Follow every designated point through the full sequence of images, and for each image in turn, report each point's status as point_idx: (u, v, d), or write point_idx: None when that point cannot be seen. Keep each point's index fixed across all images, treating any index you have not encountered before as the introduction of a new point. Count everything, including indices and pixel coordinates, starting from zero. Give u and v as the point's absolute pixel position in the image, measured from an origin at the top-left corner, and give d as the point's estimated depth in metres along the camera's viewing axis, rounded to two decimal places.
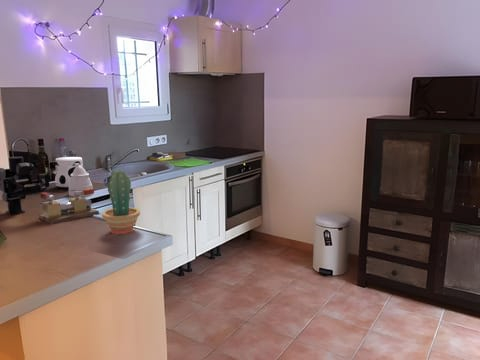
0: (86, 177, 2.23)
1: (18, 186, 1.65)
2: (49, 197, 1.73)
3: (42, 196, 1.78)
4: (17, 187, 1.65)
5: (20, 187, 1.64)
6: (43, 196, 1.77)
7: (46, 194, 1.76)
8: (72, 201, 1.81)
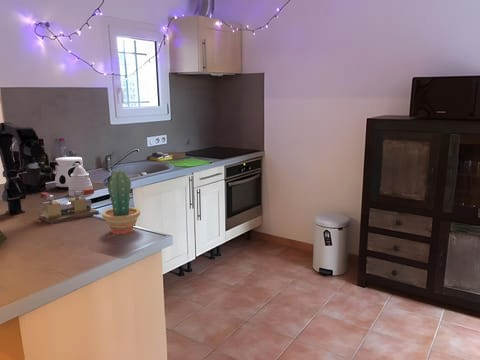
0: (86, 177, 2.23)
1: (18, 187, 1.70)
2: (49, 197, 1.73)
3: (42, 196, 1.78)
4: (17, 186, 1.70)
5: (19, 190, 1.71)
6: (43, 196, 1.77)
7: (46, 194, 1.76)
8: (72, 201, 1.81)
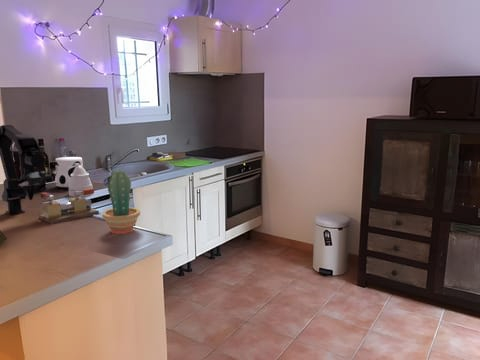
0: (86, 177, 2.23)
1: (28, 195, 1.73)
2: (49, 197, 1.73)
3: (42, 196, 1.78)
4: (27, 194, 1.74)
5: (28, 197, 1.74)
6: (43, 196, 1.77)
7: (46, 194, 1.76)
8: (72, 201, 1.81)
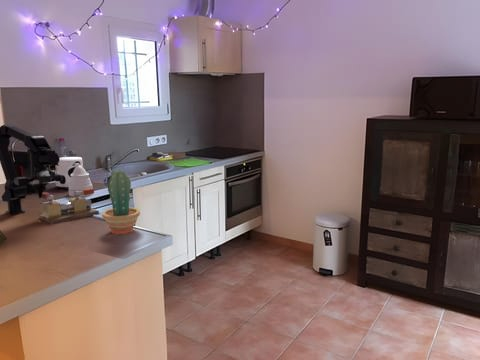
0: (86, 177, 2.23)
1: (38, 193, 1.77)
2: (49, 197, 1.73)
3: (42, 196, 1.78)
4: (37, 192, 1.77)
5: (39, 196, 1.77)
6: (43, 196, 1.77)
7: (46, 194, 1.76)
8: (72, 201, 1.81)
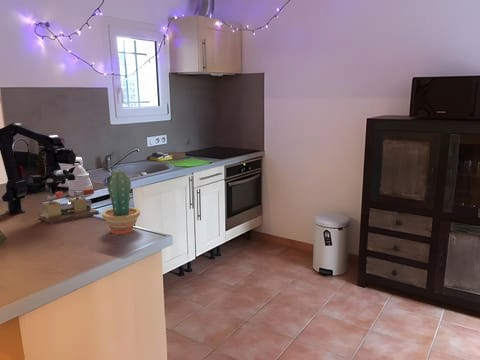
0: (86, 177, 2.23)
1: (51, 192, 1.80)
2: (47, 197, 1.74)
3: None
4: (50, 190, 1.80)
5: None
6: None
7: (53, 193, 1.78)
8: (72, 201, 1.81)
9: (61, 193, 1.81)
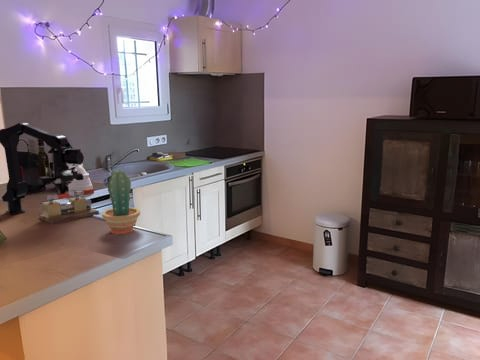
0: (86, 177, 2.23)
1: (60, 192, 1.80)
2: None
3: None
4: (59, 191, 1.80)
5: None
6: None
7: (56, 194, 1.77)
8: (72, 201, 1.81)
9: (66, 194, 1.79)
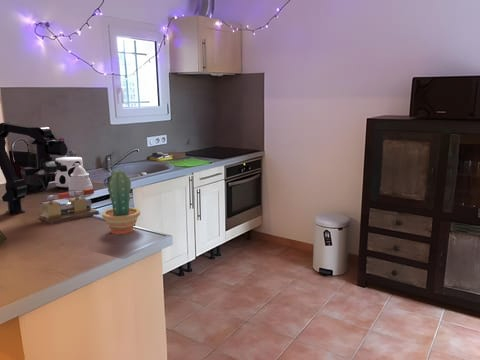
0: (86, 177, 2.23)
1: (43, 183, 1.81)
2: None
3: None
4: (42, 182, 1.81)
5: (44, 186, 1.81)
6: None
7: (56, 194, 1.77)
8: (72, 201, 1.81)
9: (66, 194, 1.79)
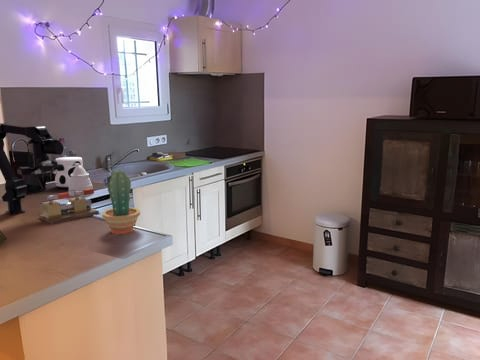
0: (86, 177, 2.23)
1: (40, 183, 1.80)
2: None
3: None
4: (39, 181, 1.80)
5: (41, 185, 1.81)
6: None
7: (56, 194, 1.77)
8: (72, 201, 1.81)
9: (66, 194, 1.79)
